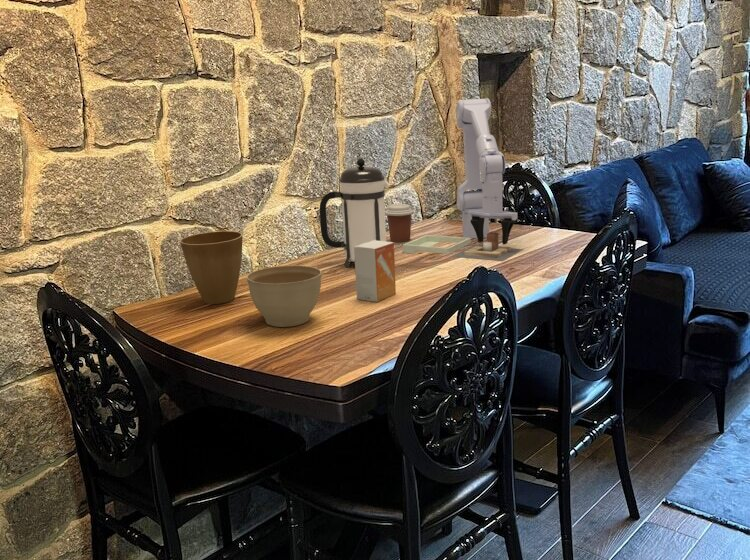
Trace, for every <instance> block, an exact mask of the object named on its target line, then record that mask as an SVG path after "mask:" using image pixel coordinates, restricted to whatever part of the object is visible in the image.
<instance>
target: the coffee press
mask: <svg viewBox="0 0 750 560" xmlns="http://www.w3.org/2000/svg"><path fill="white" fill-rule="evenodd" d="M365 163H366V162H365V159H363V158H358V159H357V160H356V164H357V166H358V167H351V168H347V169H345V170H343V171H342V172H341V174H340V177H339V178H338V182H339V183H340V191H330V192H328V193H325V194H324V196H323V197H322V198H321V199H320V203H319V221H320V222H319V224H320V233H321V237H322V240H323V242H324V243H325V244H326V245H327V246H329V247H330V248H331V247H332V248H340V249H341V248H342V249H344V254H345V255H344V257H345V260H344V263H343V267H344V268H347V269H350V268H351V266H352V265H354V264H355V255H354V247H355V246H358V245H361V244H363V243H367V242H370V241H373V240H377V241H386V242H387V235H386V233H387V231H386V215H385V211H386V210H385V197H386V192H385V188H386V187H387V188H389V187H391V185H390V183H389V182H388V180H387V179H386V177H385V175H384V174H383V171H382V170H381V169H379V168H377V167H372V166H369V167H368V166H364V165H365ZM335 198H340V199H341V209H342V226H343V228H342V230H343V241H334V240H332V239H331V238H330V236H329V233H328V220H327V219H328V218H327V204H328V202H329V201H330V199H331V200H332V199H335Z"/></svg>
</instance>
